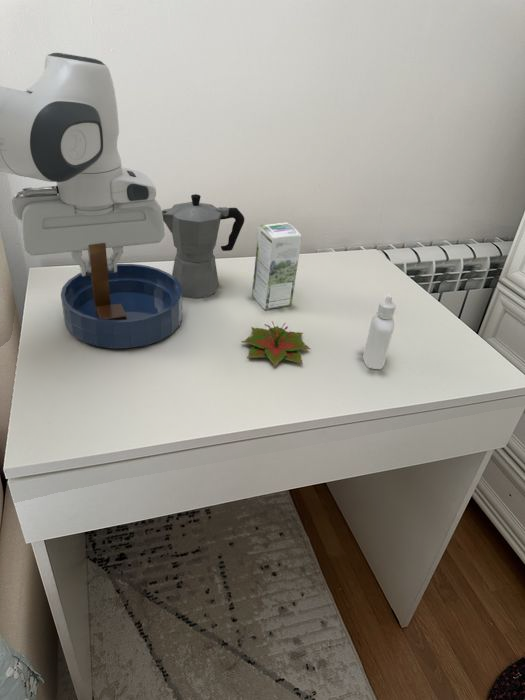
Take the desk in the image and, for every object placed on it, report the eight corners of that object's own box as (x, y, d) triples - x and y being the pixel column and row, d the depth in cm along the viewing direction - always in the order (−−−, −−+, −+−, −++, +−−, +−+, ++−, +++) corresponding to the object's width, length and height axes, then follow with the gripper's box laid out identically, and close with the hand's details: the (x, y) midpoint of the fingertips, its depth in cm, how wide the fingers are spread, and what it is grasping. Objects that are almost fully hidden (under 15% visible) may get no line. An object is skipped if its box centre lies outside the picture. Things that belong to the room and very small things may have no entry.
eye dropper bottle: (392, 357, 88) (410, 294, 81) (378, 373, 84) (395, 308, 78) (368, 347, 90) (383, 284, 83) (353, 362, 86) (368, 298, 79)
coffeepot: (161, 300, 97) (159, 204, 86) (157, 276, 104) (154, 185, 94) (244, 297, 100) (251, 204, 90) (235, 273, 108) (240, 185, 97)
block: (102, 340, 84) (100, 319, 82) (98, 327, 87) (95, 306, 85) (128, 337, 86) (126, 315, 83) (122, 323, 89) (121, 303, 86)
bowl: (75, 361, 81) (71, 330, 77) (58, 299, 94) (53, 271, 91) (196, 339, 88) (197, 310, 85) (163, 284, 102) (163, 258, 99)
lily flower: (311, 332, 93) (315, 309, 90) (312, 374, 83) (316, 350, 80) (242, 324, 93) (244, 302, 90) (235, 366, 83) (237, 342, 80)
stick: (96, 314, 88) (88, 245, 78) (94, 305, 89) (86, 235, 79) (111, 312, 89) (105, 243, 78) (108, 303, 90) (102, 234, 80)
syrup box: (278, 291, 103) (286, 220, 95) (292, 306, 99) (302, 233, 91) (251, 296, 101) (257, 223, 93) (265, 311, 97) (273, 237, 88)
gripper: (11, 197, 68) (29, 291, 76) (166, 187, 76) (168, 273, 84) (7, 181, 73) (25, 271, 81) (154, 173, 81) (157, 256, 89)
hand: (99, 272), depth 83 cm, fingers closed on stick, 2 cm apart
